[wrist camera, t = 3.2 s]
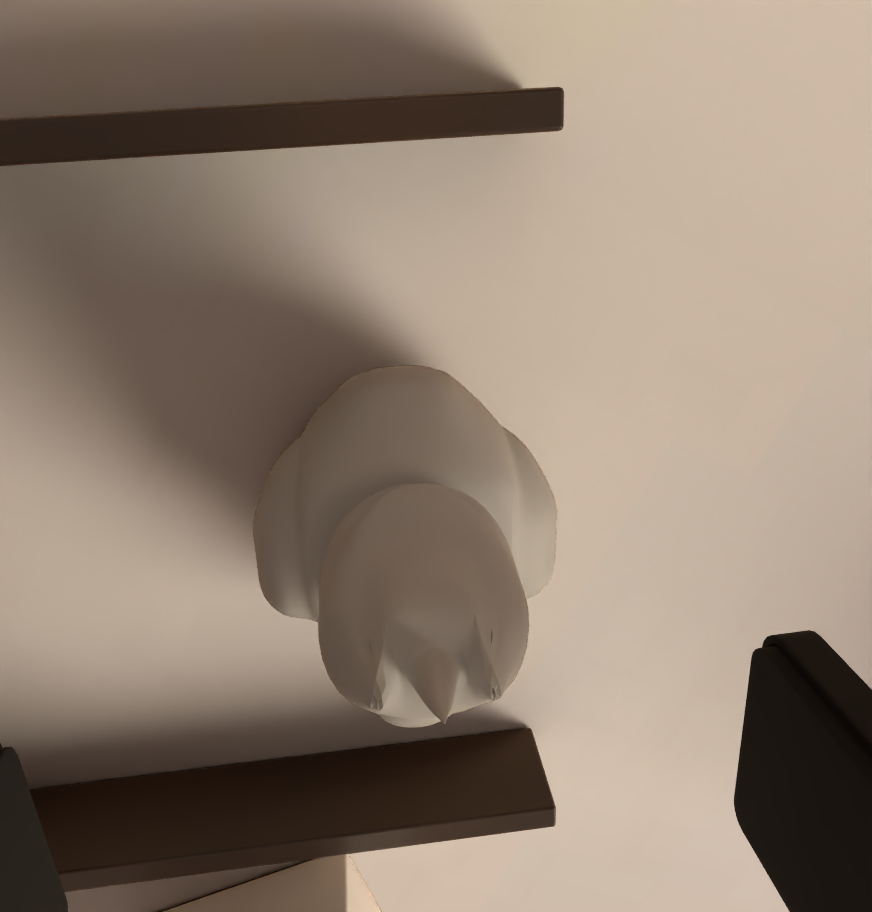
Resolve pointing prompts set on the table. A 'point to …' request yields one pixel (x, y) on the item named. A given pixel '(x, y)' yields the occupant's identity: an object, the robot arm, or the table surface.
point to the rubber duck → (408, 543)
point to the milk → (295, 891)
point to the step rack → (315, 776)
